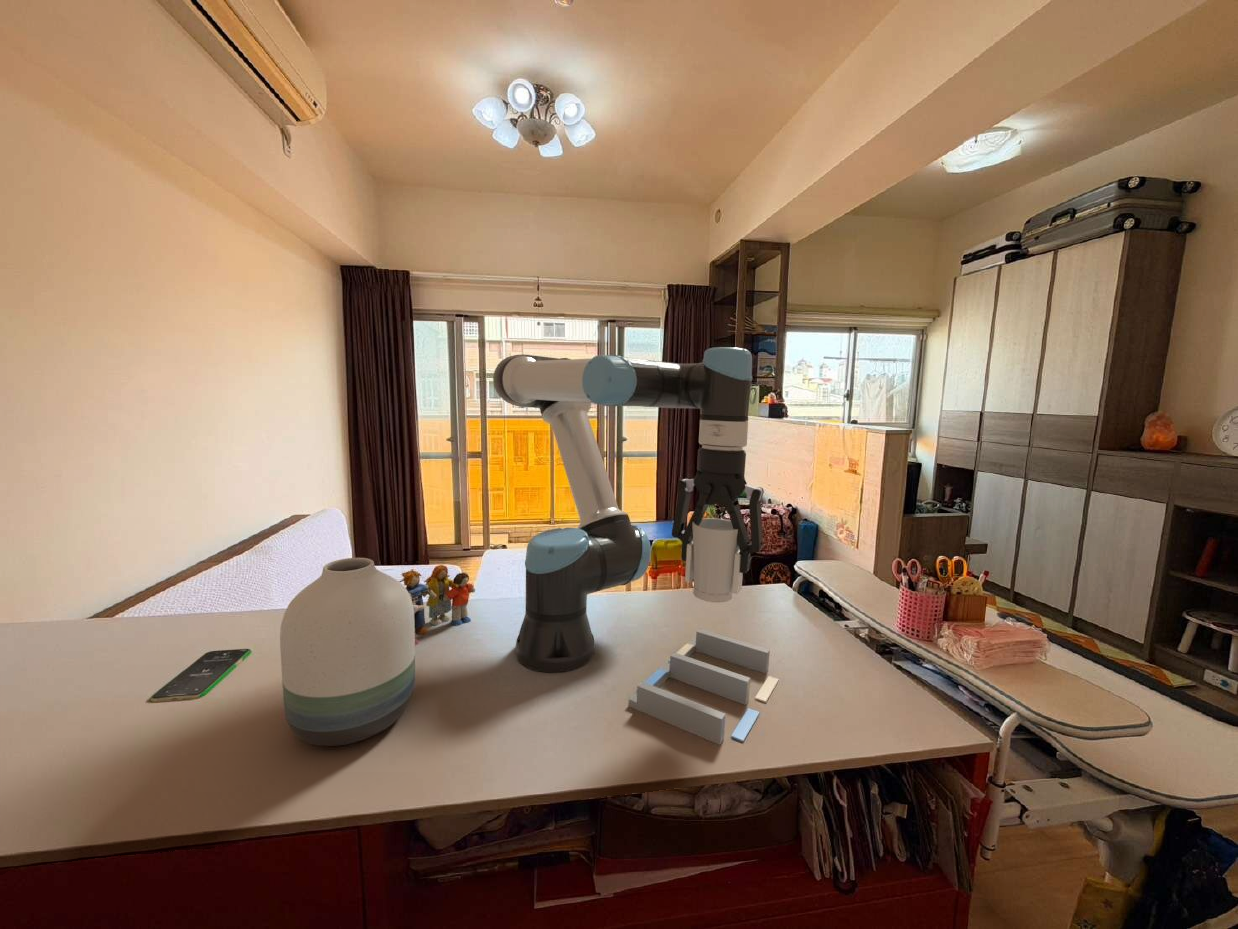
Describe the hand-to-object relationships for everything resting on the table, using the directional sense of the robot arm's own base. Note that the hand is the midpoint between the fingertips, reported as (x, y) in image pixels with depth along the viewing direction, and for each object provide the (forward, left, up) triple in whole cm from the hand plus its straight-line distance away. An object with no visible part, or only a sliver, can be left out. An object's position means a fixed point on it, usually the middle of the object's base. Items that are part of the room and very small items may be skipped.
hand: (712, 585), depth 80 cm
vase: (-40, -38, -19) cm, 59 cm away
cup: (0, 0, -2) cm, 2 cm away
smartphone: (-72, -46, -20) cm, 88 cm away
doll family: (-57, -14, -19) cm, 62 cm away
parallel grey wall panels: (0, +1, -19) cm, 19 cm away
